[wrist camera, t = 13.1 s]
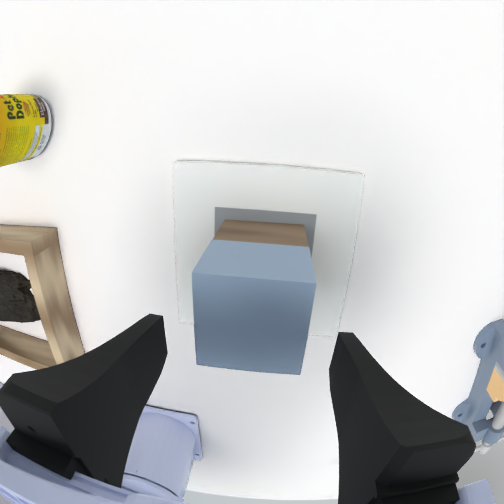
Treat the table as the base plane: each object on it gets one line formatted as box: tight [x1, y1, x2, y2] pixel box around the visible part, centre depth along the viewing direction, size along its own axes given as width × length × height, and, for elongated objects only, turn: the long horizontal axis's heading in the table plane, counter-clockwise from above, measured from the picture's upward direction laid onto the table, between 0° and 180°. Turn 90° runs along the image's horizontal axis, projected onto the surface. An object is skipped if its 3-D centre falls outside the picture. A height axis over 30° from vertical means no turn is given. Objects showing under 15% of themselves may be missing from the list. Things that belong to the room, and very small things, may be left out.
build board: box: [173, 161, 365, 337], centre depth 21 cm, size 12×12×1 cm
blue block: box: [192, 239, 316, 375], centre depth 15 cm, size 5×5×4 cm
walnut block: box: [213, 219, 309, 247], centre depth 19 cm, size 5×5×4 cm
